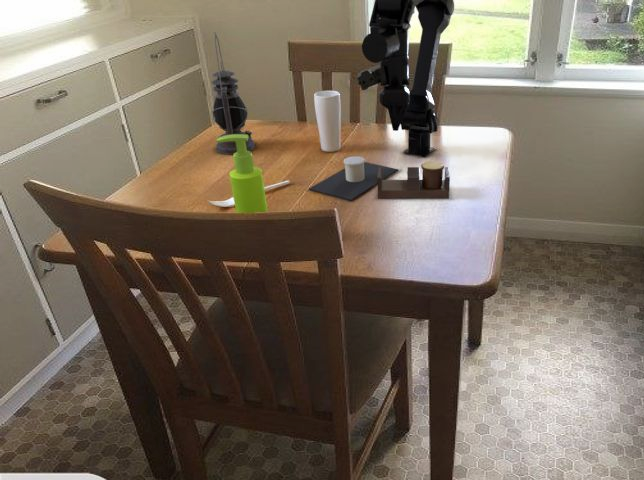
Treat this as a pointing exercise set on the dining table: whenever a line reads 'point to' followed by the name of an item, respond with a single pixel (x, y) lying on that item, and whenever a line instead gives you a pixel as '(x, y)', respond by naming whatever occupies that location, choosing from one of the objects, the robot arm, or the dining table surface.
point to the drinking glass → (328, 119)
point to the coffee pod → (354, 168)
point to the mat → (352, 190)
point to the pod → (432, 174)
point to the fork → (231, 201)
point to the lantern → (229, 109)
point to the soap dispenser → (245, 178)
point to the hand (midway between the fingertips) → (395, 124)
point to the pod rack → (411, 187)
